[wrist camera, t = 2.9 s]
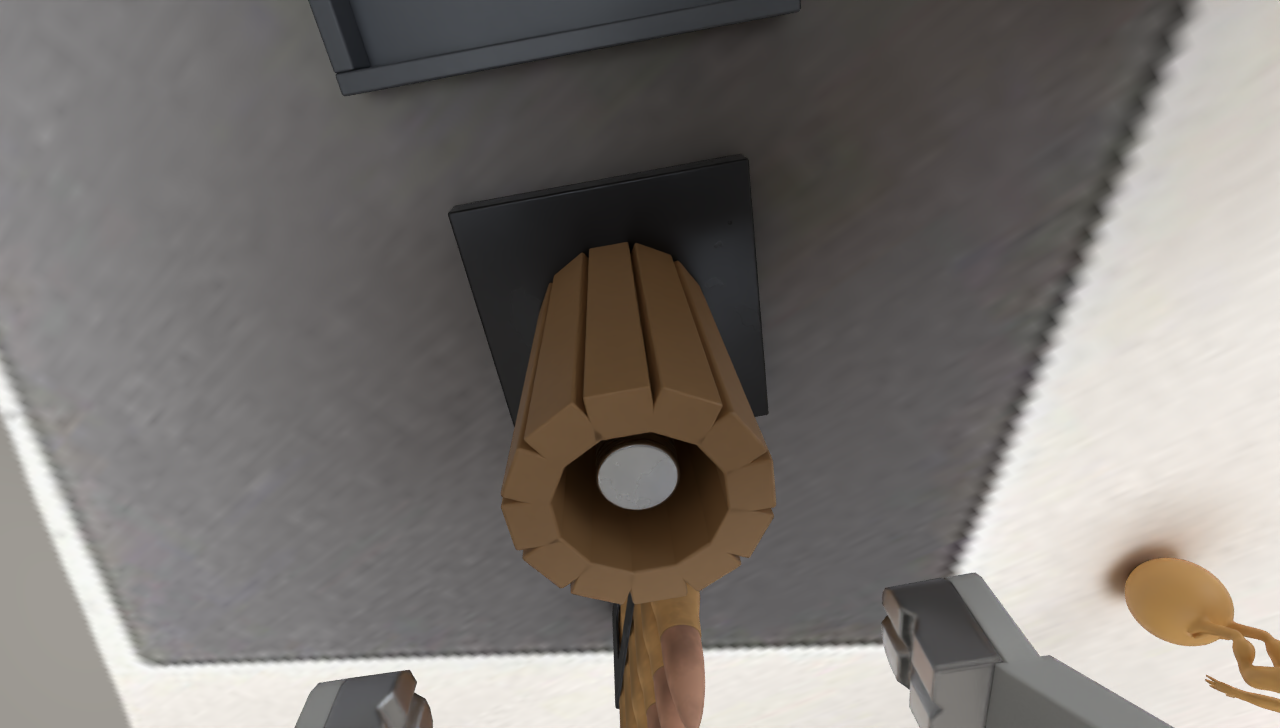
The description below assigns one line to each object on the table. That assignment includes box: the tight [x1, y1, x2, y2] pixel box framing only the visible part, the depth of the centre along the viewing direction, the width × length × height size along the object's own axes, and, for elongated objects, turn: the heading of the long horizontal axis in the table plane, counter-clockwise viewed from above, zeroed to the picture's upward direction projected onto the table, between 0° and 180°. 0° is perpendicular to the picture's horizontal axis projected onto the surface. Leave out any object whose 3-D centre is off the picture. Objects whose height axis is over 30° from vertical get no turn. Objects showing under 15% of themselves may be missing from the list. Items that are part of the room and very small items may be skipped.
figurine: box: [1125, 558, 1280, 713], centre depth 26 cm, size 8×6×12 cm
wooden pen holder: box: [501, 242, 776, 605], centre depth 18 cm, size 6×6×10 cm
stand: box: [448, 154, 768, 511], centre depth 19 cm, size 10×10×10 cm
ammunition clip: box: [612, 582, 705, 728], centre depth 23 cm, size 11×2×12 cm, turn 173°
